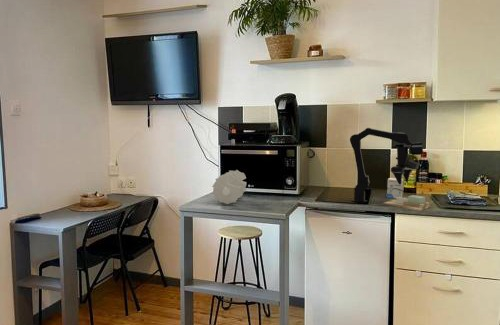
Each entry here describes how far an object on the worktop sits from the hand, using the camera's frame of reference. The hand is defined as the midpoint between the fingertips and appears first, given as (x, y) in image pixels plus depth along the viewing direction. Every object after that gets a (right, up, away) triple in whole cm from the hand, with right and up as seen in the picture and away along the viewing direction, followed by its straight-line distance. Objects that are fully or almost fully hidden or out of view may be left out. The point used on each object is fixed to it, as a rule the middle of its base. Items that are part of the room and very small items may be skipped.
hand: (403, 182), depth 218 cm
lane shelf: (+1, -12, -2) cm, 13 cm away
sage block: (+2, -12, -4) cm, 12 cm away
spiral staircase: (-98, -12, +16) cm, 100 cm away
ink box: (+2, -10, +19) cm, 22 cm away
